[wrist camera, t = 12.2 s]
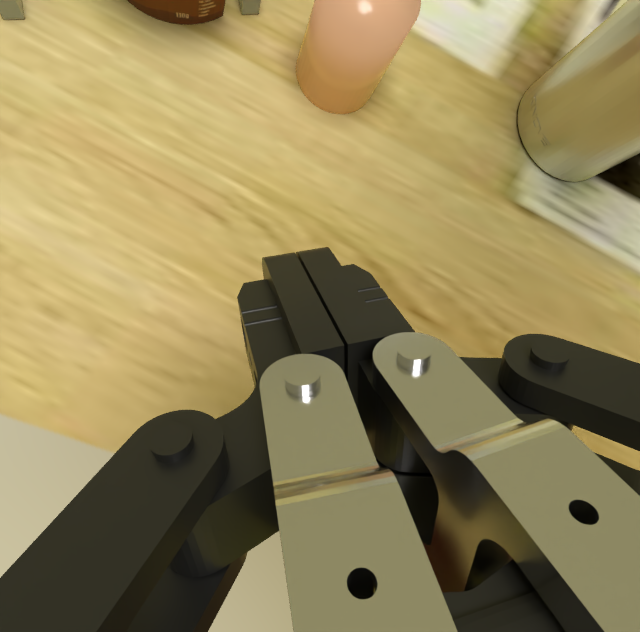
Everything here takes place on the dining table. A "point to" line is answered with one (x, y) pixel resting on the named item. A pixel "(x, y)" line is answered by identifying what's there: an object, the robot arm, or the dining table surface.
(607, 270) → the dining table surface
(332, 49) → the peach rounded cylinder
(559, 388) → the robot arm
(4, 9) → the frame
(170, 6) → the food container
